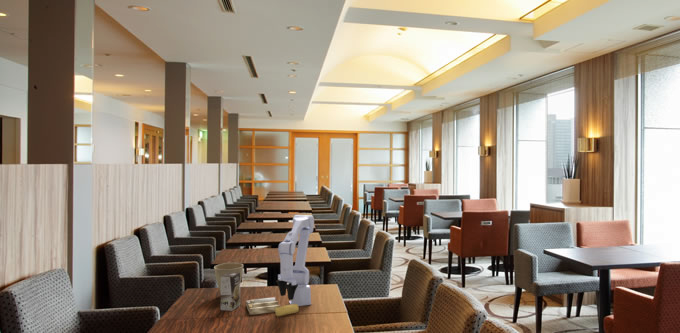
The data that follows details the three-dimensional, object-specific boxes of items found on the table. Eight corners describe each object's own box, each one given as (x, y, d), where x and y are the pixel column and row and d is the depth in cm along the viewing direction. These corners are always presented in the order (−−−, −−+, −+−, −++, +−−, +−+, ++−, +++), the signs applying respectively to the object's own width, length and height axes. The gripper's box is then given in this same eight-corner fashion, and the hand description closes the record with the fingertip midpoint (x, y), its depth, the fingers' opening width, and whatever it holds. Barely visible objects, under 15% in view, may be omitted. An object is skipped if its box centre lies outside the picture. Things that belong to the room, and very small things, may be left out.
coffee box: (232, 311, 212) (232, 276, 212) (220, 310, 214) (219, 276, 214) (241, 305, 221) (240, 272, 221) (228, 304, 223) (228, 271, 222)
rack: (275, 302, 224) (275, 296, 224) (280, 311, 212) (280, 304, 212) (246, 306, 220) (246, 299, 220) (250, 314, 207) (250, 308, 207)
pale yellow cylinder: (294, 311, 212) (294, 302, 212) (298, 313, 209) (298, 304, 209) (275, 315, 207) (275, 306, 207) (279, 317, 203) (279, 308, 203)
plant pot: (221, 291, 244) (220, 262, 244) (247, 292, 242) (247, 263, 242) (209, 300, 229) (209, 268, 229) (237, 301, 227) (237, 269, 227)
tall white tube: (274, 304, 223) (274, 296, 223) (275, 306, 219) (275, 298, 219) (253, 306, 219) (253, 298, 219) (254, 309, 216) (254, 300, 215)
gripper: (271, 266, 211) (272, 295, 211) (286, 272, 199) (286, 303, 199) (285, 264, 215) (285, 292, 215) (300, 270, 203) (300, 300, 203)
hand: (286, 297), depth 208 cm, fingers open, 7 cm apart
